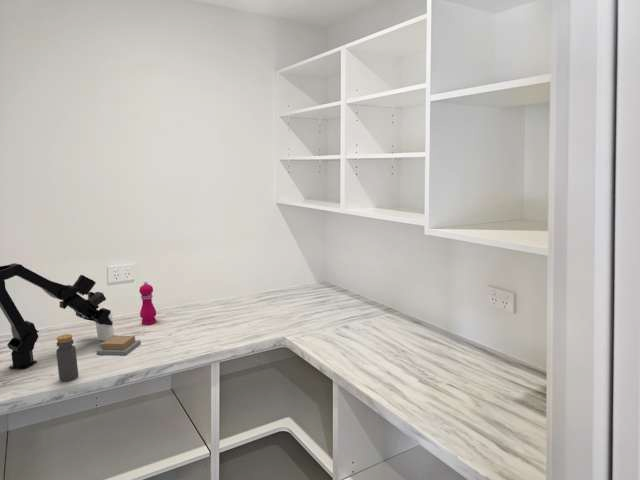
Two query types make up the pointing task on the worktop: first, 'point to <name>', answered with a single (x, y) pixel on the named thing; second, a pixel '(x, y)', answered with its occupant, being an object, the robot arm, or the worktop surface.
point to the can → (105, 330)
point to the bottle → (66, 358)
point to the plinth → (119, 352)
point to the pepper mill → (147, 304)
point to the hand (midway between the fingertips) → (107, 322)
